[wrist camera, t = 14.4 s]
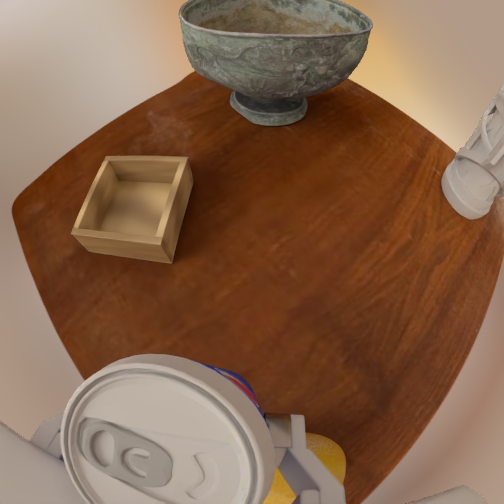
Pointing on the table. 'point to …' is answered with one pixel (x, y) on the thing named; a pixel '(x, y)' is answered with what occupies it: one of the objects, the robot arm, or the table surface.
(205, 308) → the table surface
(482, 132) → the lantern
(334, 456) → the fruit
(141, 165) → the wooden tray
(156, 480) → the beverage can
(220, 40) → the decorative bowl
